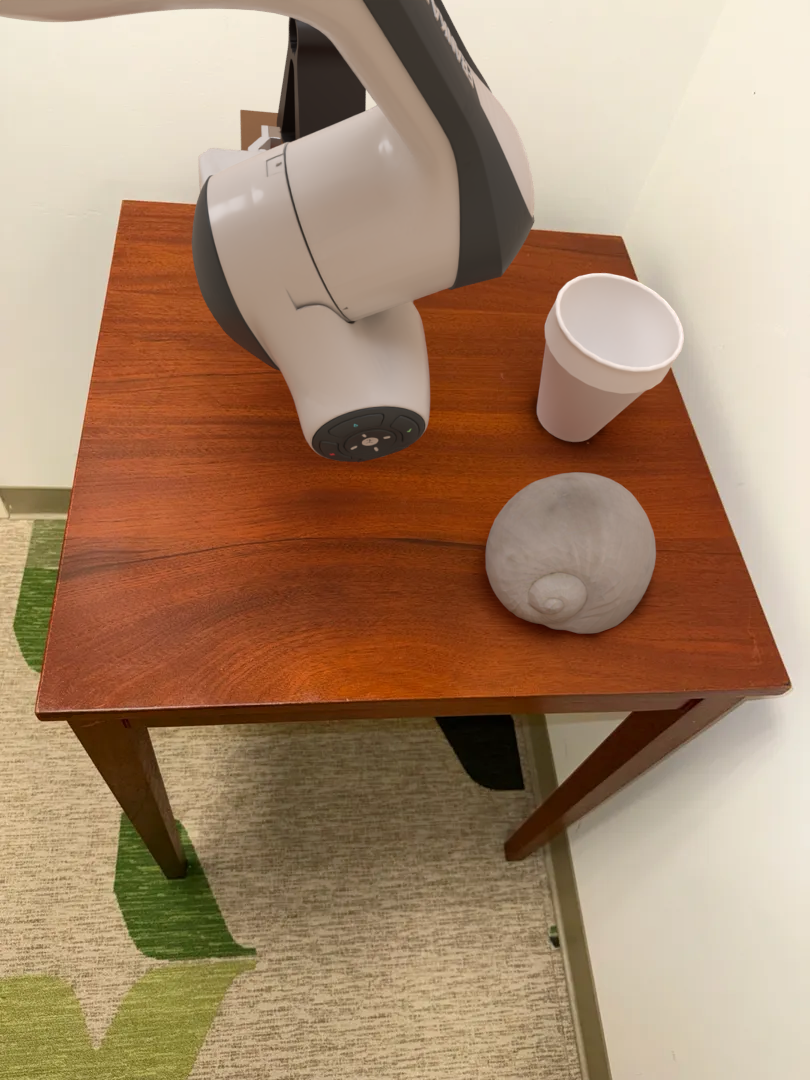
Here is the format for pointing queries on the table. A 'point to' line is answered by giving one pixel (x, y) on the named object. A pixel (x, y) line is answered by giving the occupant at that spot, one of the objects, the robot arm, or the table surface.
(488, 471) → the table surface
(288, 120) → the phone stand
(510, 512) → the seashell
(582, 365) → the cup
